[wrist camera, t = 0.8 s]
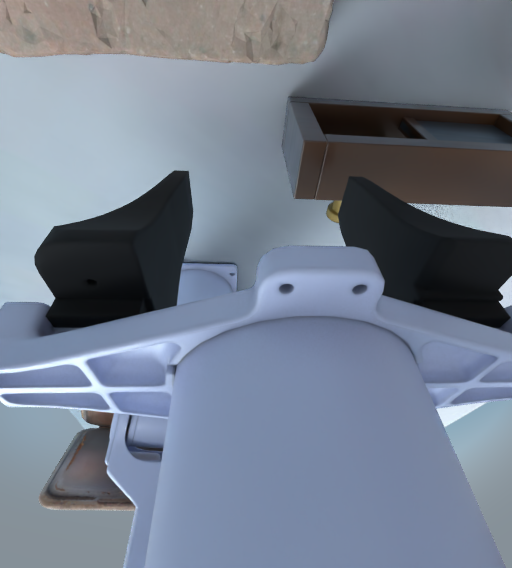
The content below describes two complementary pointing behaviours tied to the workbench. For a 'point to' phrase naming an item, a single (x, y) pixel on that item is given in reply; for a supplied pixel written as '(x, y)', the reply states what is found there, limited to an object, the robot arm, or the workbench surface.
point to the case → (86, 472)
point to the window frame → (399, 151)
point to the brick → (168, 29)
